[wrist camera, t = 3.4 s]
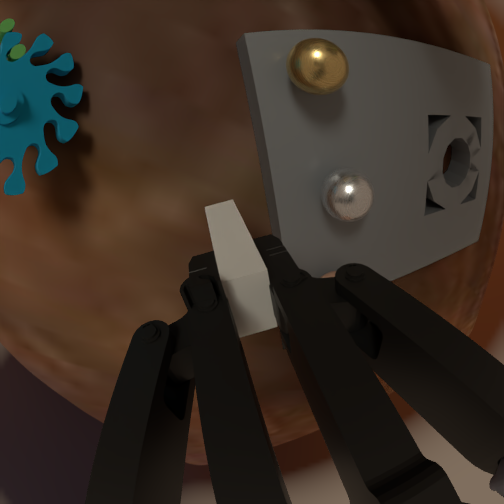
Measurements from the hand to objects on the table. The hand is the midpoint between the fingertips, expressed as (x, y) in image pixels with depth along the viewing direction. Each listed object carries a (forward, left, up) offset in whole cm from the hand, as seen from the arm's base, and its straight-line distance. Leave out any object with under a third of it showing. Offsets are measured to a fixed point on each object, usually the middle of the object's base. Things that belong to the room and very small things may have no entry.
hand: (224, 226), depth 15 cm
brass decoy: (-8, +6, 0) cm, 10 cm away
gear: (-11, -10, -4) cm, 16 cm away
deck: (0, +14, -4) cm, 15 cm away
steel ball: (0, +7, 0) cm, 7 cm away
